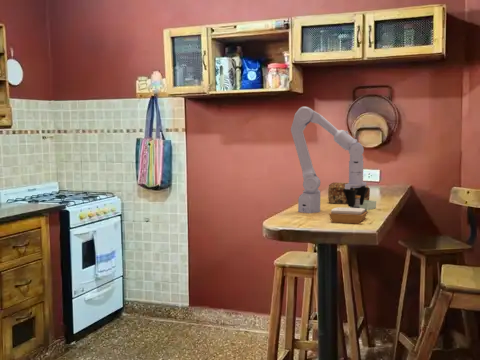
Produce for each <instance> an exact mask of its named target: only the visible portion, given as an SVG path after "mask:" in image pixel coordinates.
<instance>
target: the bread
mask: <svg viewBox="0 0 480 360" xmlns="http://www.w3.org/2000/svg"><path fill="white" fill-rule="evenodd" d="M348 183H349V182H332V183H330V184H328V192H327V195H328V198H327V199H328V203H329V204H338V205H348V202H347V198H346V196H345V194H344V192H343V189H345V184H348ZM366 187H367V188H368V191H367V193H366V195H365V198H364V200H370V195H371V194H370V193H371V192H370V191H371V189H370V188H371V187H370V186H368V185H367V184H366ZM353 189H354V188H353ZM354 190H355V189H354Z"/></svg>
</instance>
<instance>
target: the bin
mask: <svg viewBox="0 0 480 360" xmlns="http://www.w3.org/2000/svg"><path fill="white" fill-rule="evenodd" d="M349 208H351V207H349ZM360 208H363V209H367V211H370V210H374V209H376V208H377V201H376V200H370V199H369V200H364V202H363V205H360Z"/></svg>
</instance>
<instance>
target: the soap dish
mask: <svg viewBox="0 0 480 360" xmlns="http://www.w3.org/2000/svg"><path fill="white" fill-rule="evenodd" d="M367 212H368V211H367ZM367 212H365V209H363V208H350V207H340V206H339V207H334V208H332V209H330V212H329V213H328V215H329V217H330V220H331V223H340V224H341V223H342V224H356V225H359V224H361V223H362V222H363V220H365V219H366V217H367V215H368V213H367Z"/></svg>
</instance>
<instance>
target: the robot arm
mask: <svg viewBox="0 0 480 360" xmlns="http://www.w3.org/2000/svg"><path fill="white" fill-rule="evenodd" d="M310 123H312V124H317V125H319V126H321V128H323V129H324V130H325V131H327V132H328V133H329V134H330V135H332V137H333V141H334V142H335V143H336V144H337V145H338V146H340V147H341V148H342V149H343V150H344V151H347V152H348V154H349V161H348V182H347V183H348V184H345V189H343V192H344V194H345V196H346V198H347V202H348V204H347V206H348V208H350V207H354V203H355V196H356V195H360V205H363V202H364V198H365V195H366V193H367V191H368V188H367V187H366V185H367V181H364V155H363V154H364V152H365V150H364V149H365V148H364V146H363V145H362V144H361V142H358V139H356V138H354V137H352V136H351V135H350V134H349V131H348V130H344V129H338V128H337V127H336V126H334V125H333V124H332V123H331V122H330V121H329V120H328V119H326V118H325V116H323V115H322V114H320V113H319V112H317V111H315V110H313V109H312V108H311V107H309V106H301V107H299V108H298V109H297V111H296V112H295V114H294V116H293V121H292V124H291V127H290V133H291V136H292V139H293V142H294V147H295V151H296V153H297V158H298V160H299V164H300V167H301V171H302V178H303V181H302V186H303V189H304V190H302V193H301V194H300V195H299V197H298V198H297V199H298V200H297V201H298V203H297V204H298V205H297V206H298V208H297V212H298V213H305V214H314V213H320V212H321V190H320V189H319V187H320V186H321V179H320V177H318V176H317V173H316V171H315V168H314V166H313V162H312V159H311V154H310V152H309V148H308V145H307V141H306V138H305V134H304V131H305V129H306V127H307V126H308V125H309V124H310ZM353 188H354V189H355V190H354V189H353Z"/></svg>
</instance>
